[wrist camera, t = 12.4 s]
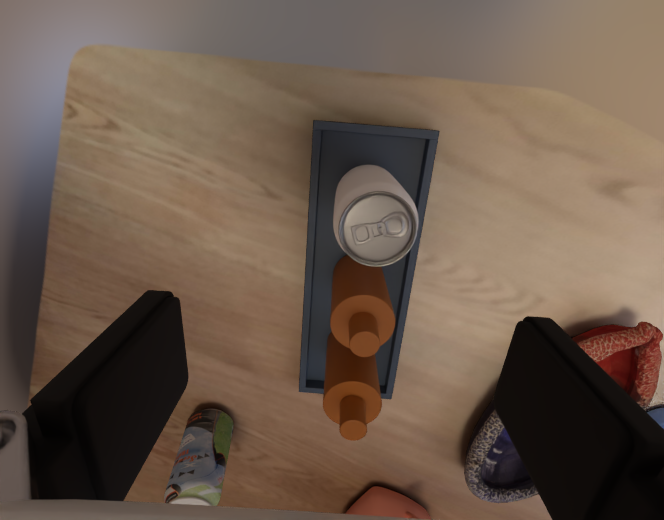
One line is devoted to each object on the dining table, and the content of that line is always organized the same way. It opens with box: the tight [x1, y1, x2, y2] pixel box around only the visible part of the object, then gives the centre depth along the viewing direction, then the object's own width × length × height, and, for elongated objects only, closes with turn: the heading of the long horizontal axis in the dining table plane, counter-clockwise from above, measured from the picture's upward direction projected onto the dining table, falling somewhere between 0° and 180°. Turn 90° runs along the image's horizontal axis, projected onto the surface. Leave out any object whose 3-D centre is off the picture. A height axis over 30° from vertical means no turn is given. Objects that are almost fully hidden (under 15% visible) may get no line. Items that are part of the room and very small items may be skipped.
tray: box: [299, 120, 440, 399], centre depth 39 cm, size 32×12×2 cm, turn 176°
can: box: [333, 165, 419, 267], centre depth 31 cm, size 6×6×12 cm
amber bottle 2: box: [323, 332, 382, 440], centre depth 37 cm, size 6×6×13 cm
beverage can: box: [164, 409, 234, 506], centre depth 43 cm, size 6×7×12 cm
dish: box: [464, 322, 663, 503], centre depth 44 cm, size 16×31×5 cm, turn 150°
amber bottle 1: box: [330, 255, 395, 357], centre depth 34 cm, size 6×6×13 cm
